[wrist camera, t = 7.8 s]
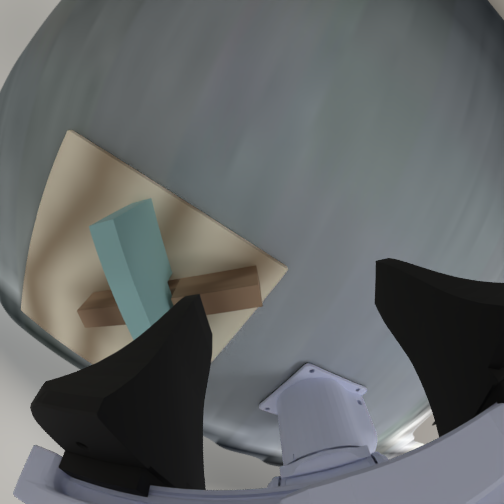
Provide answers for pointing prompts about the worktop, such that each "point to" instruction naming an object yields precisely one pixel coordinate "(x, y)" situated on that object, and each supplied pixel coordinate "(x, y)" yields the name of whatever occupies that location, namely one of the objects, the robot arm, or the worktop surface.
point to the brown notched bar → (208, 286)
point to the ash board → (86, 258)
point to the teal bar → (135, 264)
